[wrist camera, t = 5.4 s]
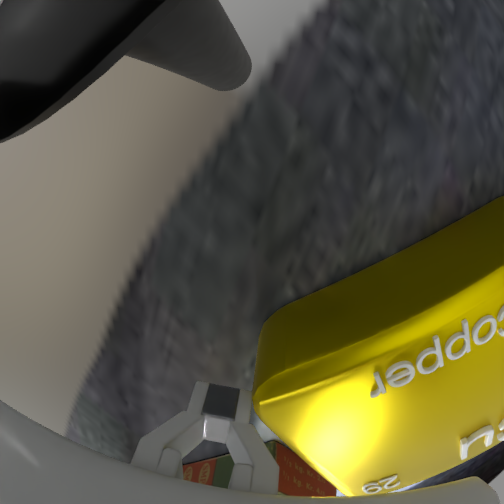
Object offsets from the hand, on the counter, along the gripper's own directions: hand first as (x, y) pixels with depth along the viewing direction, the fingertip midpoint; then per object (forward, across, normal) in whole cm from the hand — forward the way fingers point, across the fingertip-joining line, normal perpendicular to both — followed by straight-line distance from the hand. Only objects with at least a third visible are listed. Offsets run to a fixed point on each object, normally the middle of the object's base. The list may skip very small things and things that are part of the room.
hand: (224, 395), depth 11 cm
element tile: (+4, -11, 0) cm, 11 cm away
